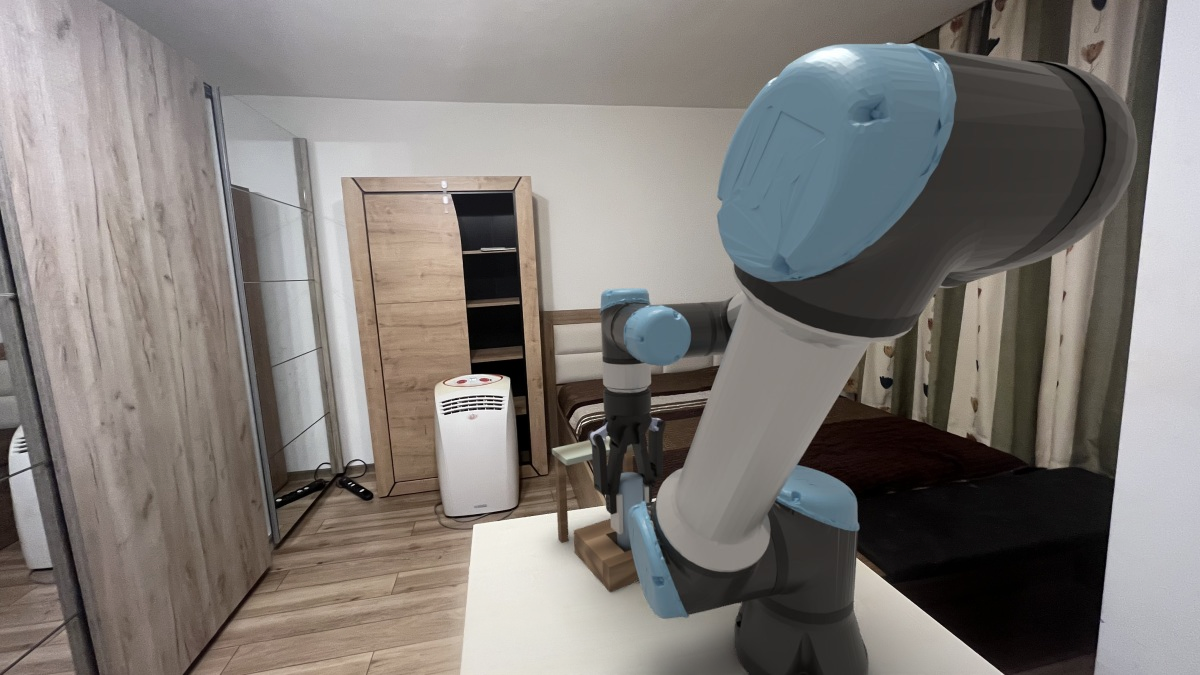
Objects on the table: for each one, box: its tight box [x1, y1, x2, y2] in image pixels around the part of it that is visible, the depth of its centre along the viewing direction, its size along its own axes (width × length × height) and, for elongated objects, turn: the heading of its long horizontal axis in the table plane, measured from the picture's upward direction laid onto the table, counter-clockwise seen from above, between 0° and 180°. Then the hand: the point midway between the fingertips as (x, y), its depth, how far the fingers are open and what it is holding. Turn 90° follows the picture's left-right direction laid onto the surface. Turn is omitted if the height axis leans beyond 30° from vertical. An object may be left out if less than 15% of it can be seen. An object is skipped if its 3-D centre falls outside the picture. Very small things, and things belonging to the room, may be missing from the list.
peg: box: [617, 471, 643, 552], centre depth 77 cm, size 4×4×14 cm
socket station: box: [551, 435, 639, 593], centre depth 80 cm, size 18×16×17 cm
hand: (630, 525), depth 78 cm, fingers closed on peg, 4 cm apart
